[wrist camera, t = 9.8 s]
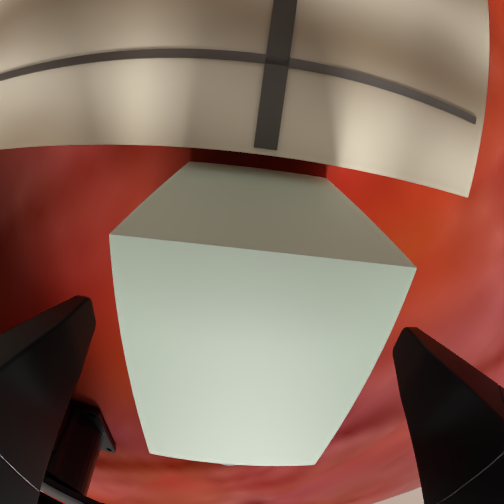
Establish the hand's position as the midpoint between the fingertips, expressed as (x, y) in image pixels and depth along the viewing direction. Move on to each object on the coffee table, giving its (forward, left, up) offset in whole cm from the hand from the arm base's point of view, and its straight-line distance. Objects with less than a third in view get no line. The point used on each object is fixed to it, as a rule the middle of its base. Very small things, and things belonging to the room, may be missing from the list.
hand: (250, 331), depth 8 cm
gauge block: (-2, 0, -5) cm, 5 cm away
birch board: (+9, +6, -5) cm, 12 cm away
